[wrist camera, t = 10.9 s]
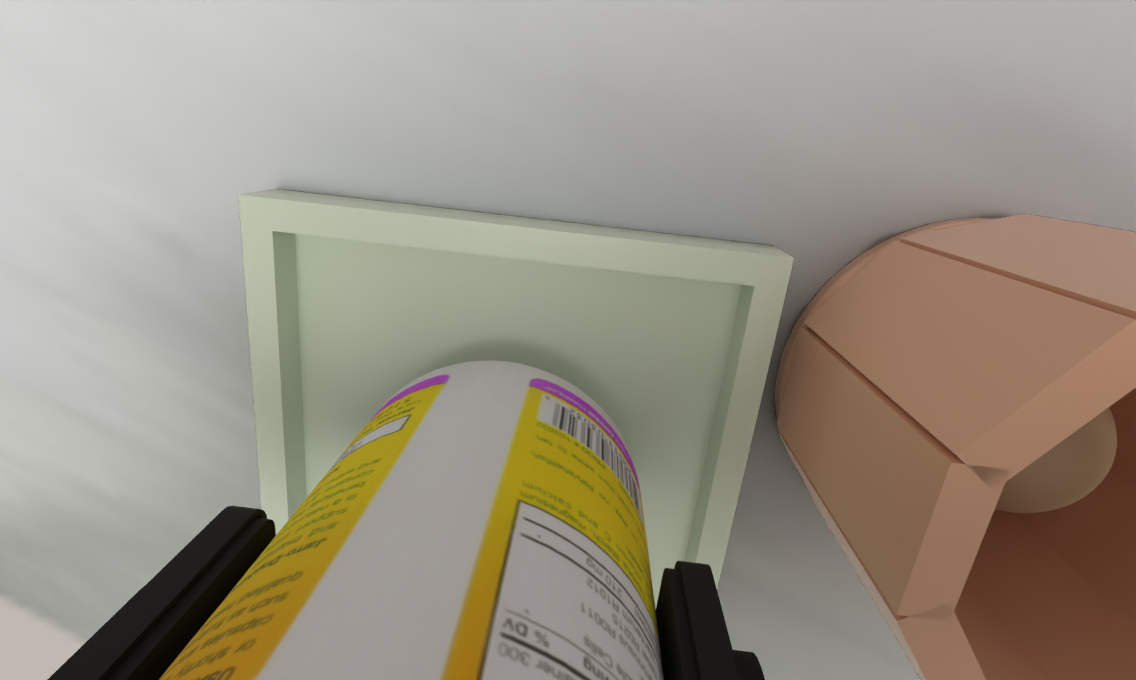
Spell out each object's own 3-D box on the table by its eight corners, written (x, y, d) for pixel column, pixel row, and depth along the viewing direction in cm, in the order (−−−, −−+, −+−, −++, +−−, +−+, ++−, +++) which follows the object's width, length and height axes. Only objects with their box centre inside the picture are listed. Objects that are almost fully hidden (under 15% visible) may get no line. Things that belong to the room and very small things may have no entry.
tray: (773, 245, 14) (794, 257, 13) (687, 637, 18) (695, 682, 16) (276, 189, 14) (238, 194, 13) (297, 589, 18) (269, 630, 16)
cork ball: (1059, 339, 14) (1202, 400, 10) (1008, 467, 15) (1123, 558, 11) (912, 322, 14) (1008, 378, 10) (872, 451, 15) (949, 537, 12)
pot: (1186, 230, 13) (1754, 315, 7) (1045, 547, 16) (1353, 825, 10) (820, 189, 14) (1033, 234, 7) (743, 512, 16) (843, 762, 10)
